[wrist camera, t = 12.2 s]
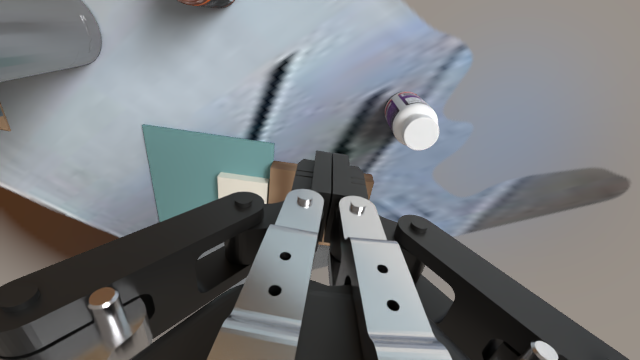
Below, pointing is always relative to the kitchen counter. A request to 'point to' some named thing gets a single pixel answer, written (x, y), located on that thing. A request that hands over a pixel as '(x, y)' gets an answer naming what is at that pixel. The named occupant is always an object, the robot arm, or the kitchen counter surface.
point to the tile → (242, 185)
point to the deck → (283, 183)
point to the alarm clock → (3, 121)
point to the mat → (198, 165)
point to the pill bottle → (412, 121)
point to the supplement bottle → (208, 3)
